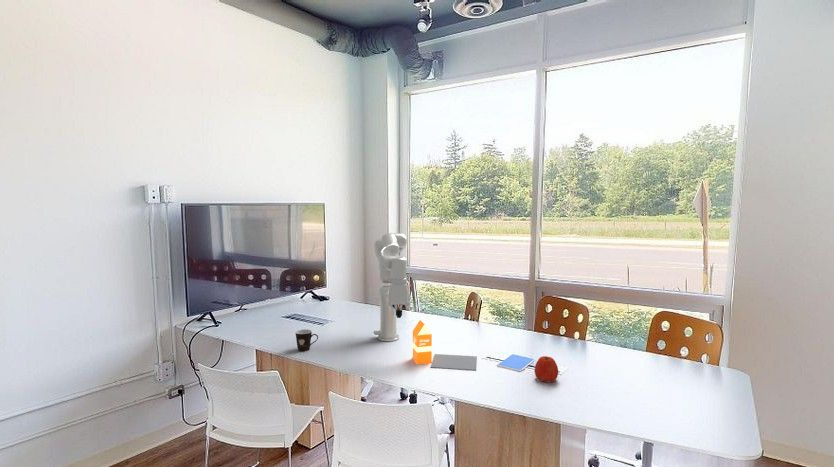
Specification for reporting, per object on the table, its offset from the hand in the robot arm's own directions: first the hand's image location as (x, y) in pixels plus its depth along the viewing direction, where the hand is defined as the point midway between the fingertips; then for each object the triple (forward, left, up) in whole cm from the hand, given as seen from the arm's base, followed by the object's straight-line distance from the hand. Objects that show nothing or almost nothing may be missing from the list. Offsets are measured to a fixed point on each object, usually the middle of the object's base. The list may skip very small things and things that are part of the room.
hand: (399, 317), depth 208 cm
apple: (+71, -14, -22) cm, 75 cm away
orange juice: (+12, 0, -22) cm, 25 cm away
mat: (+28, 0, -22) cm, 36 cm away
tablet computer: (+59, +4, -23) cm, 63 cm away
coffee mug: (-53, +5, -22) cm, 58 cm away
